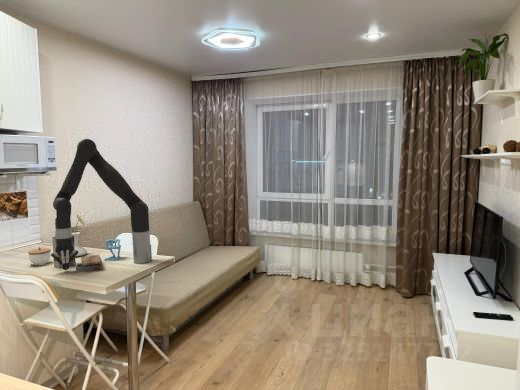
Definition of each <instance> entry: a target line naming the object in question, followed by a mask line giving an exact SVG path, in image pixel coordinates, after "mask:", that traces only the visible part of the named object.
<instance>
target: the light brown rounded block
mask: <svg viewBox="0 0 520 390" xmlns="http://www.w3.org/2000/svg"><path fill="white" fill-rule="evenodd" d="M80 259H81V263H82V265H83V266H85V265H92V264H97V266H98V269H97V270H99V271H103V261H102V258H101V255H100V254H95V255H94V254H93V255H87V256H86V255H85V256H80Z"/></svg>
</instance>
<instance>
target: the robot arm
mask: <svg viewBox="0 0 520 390" xmlns="http://www.w3.org/2000/svg"><path fill="white" fill-rule="evenodd" d="M88 164H89V165H90V166H91V167H92V169H94V171H95V172H96V174H97V176H98V177H99V178H100V179H101V180H102V182H103V183H104V184H105V185H106V186H107V188H108V189H109V190H110V191H111V192H112V193H114V194H115V195H116V196H117V197H118V198H120V199H121V200H122V201H123V202H124V204H126V206H127V207H128V208H129V211H130V225H131V226H130V227H131V236H132V237H131V238H132V254H133V258H132V259H133V263H134V264H137V265H138V264H147V263H149V262H153V257H152V256H153V255H152V254H153V253H152V244H151V237H150V236H151V234H150V233H151V232H150V231H151V230H150V220H149V219H150V217H149V206H148V204H146V202H145V201H143V199H142V198H140V196H138V195H137V194H136V193H135V192H134V190H133V189H132V187H131V186H130V184H129V183H128V182H127V181H126V179H125V178H124V176H122V175H121V172H119V171H118V170H117V168H115V167H114V166H113V165H112V164H110V163H109V162H108V161H107V160H106V159H105V158H104V157H103V155H102V154H101V153H100V152H99V150H98V147H97V144H96V142H95V141H94V140H92V139H89V138H83V139H81V140H80V141H78V143H77V146H76V152H75V156H74V158H73V161H72V164H71V165H70V168H69V170H68V172H67V175H66V176H65V178H64V180H63V182H62V185H61V188H60V189H59V191H58V192H57V195H56V196H55V198H54V199H53V202H52V207H53V208H54V210H55V211H56V212H55V213H56V214H55V215H56V218H55V219H54V220H55V221H54V225H55V231H54V234H55V235H54V237H56V249H55V252H53V251H52V252H51V256H50V257H52V259H53V258H54V259H55V260H56V261H57V262H59V263H62V264H63V267H62V270H64V271H68V270H69V269H70V266H69V262H71V261H73V259H74V258H75V259H76V257H77V256H76V255H77V254H78V250H75V249H74V247H73V240H72V233H73V230H72V221H71V215H72V203H71V199H72V197H73V196H74V195H75V194H76V192H77V191H78V188H79V187H80V186H79V185H80V183H81V180H82V178H83V174H84V172H85V169H86V166H87V165H88ZM73 251H74V252H73ZM72 252H73V255H72V257H71V258H70V259H69V256H70V255H71V253H72ZM56 253H57V254H58V255H59V256H61V257H62V260H60V259H59V258H58V257H57V254H56ZM64 256H66V262H65V258H64ZM54 259H53V260H54Z"/></svg>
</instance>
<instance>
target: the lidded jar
mask: <svg viewBox="0 0 520 390" xmlns="http://www.w3.org/2000/svg"><path fill="white" fill-rule="evenodd" d="M27 253H28V259H29V262H30V263H31V264H32V265H34V266H36V265H38V266H43V265H46V264H48V262H49V261H50V260H51V257H52V256H51V254H52V252H51V248H50V247H43V248H42V247H38V248H36V249H35V248H34V249H31V250H28V251H27Z"/></svg>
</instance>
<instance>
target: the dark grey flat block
mask: <svg viewBox="0 0 520 390" xmlns="http://www.w3.org/2000/svg"><path fill="white" fill-rule="evenodd" d="M93 270H99V269H98V266H97V264H92V265H85V266H83V265H82V262H80V263H76V264H75V272H76V273H78V272H86V271H93Z"/></svg>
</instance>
